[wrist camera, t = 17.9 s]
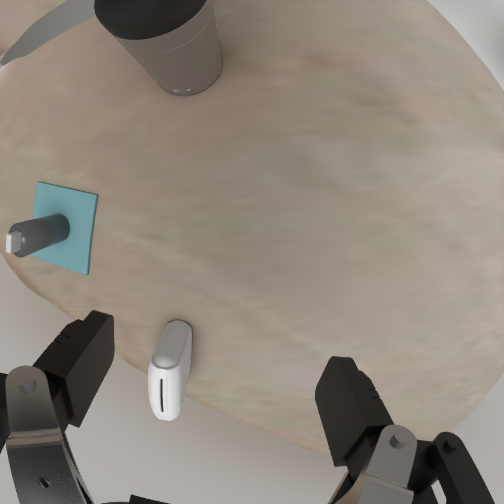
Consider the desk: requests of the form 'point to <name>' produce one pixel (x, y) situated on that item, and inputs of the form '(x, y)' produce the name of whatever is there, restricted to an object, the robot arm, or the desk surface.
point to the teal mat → (80, 219)
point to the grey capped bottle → (37, 234)
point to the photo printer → (170, 370)
